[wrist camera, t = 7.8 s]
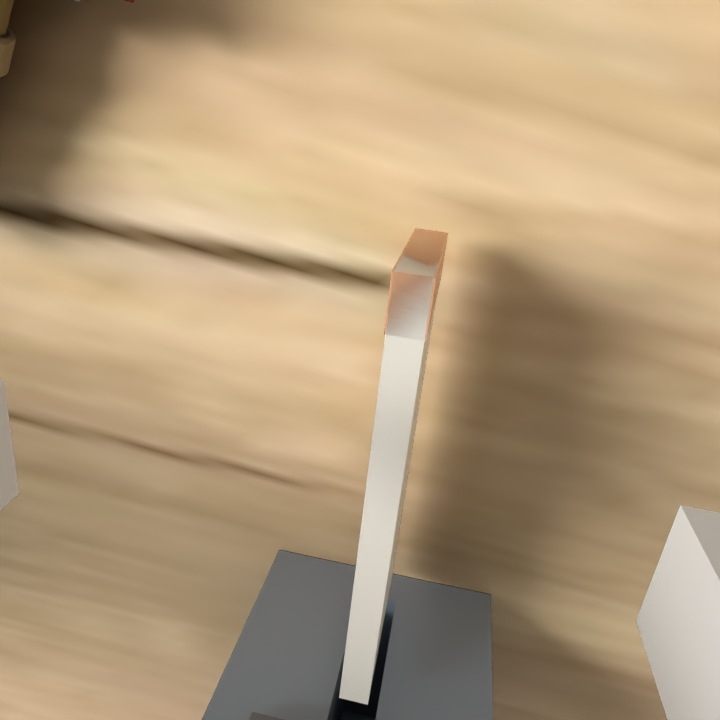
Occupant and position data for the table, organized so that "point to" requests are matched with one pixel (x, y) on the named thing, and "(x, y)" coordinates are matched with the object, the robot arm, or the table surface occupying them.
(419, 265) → the slim white post
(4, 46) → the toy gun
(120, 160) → the table surface
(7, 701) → the table surface
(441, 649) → the block
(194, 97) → the table surface
